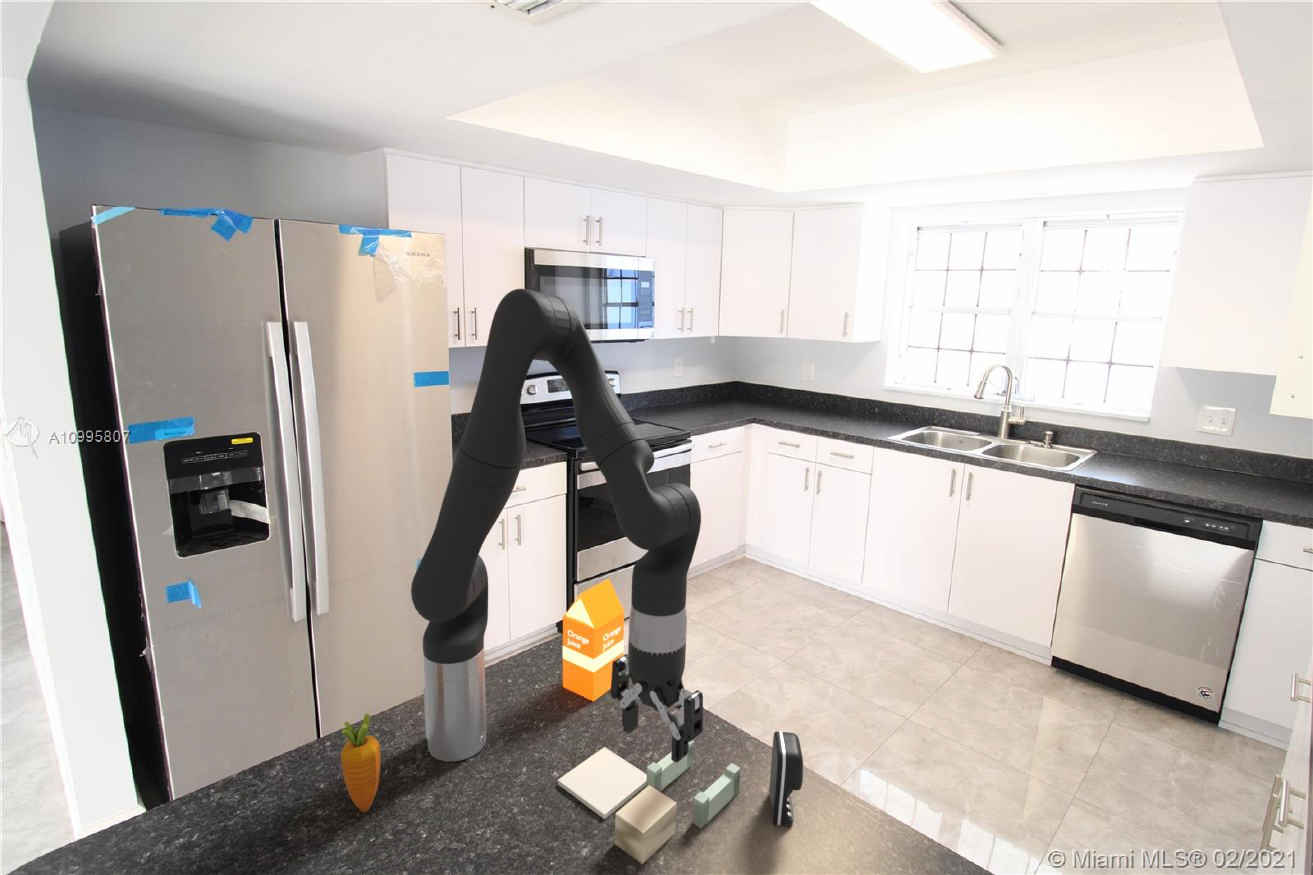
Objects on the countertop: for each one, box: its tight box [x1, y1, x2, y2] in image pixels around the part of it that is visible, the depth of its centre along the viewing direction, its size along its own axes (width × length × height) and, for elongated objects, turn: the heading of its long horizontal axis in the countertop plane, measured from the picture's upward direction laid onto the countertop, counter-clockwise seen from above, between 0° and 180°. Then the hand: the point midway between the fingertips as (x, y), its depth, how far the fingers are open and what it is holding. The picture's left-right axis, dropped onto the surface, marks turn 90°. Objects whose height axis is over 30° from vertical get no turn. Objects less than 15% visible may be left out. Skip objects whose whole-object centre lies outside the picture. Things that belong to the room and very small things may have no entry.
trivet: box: [557, 746, 647, 820], centre depth 101 cm, size 10×10×1 cm
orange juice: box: [562, 578, 625, 702], centre depth 124 cm, size 8×9×20 cm
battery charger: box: [768, 730, 804, 826], centre depth 96 cm, size 7×4×11 cm, turn 175°
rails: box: [645, 739, 741, 829], centre depth 100 cm, size 10×10×4 cm
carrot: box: [340, 713, 381, 813], centre depth 93 cm, size 5×5×15 cm
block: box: [614, 785, 678, 865], centre depth 91 cm, size 5×7×5 cm
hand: (653, 743), depth 90 cm, fingers open, 8 cm apart
